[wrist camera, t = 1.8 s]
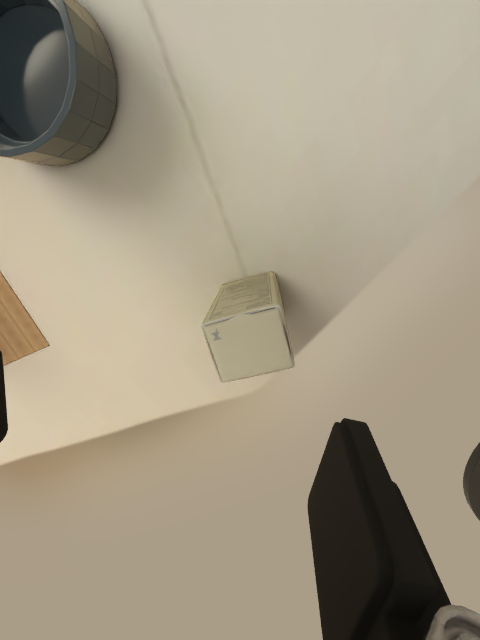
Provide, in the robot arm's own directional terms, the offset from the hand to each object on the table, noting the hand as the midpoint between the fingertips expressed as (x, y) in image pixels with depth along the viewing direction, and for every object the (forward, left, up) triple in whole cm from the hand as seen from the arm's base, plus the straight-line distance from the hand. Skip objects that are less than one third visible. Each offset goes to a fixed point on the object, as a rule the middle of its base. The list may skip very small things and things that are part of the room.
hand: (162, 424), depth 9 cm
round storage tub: (+17, -13, -22) cm, 31 cm away
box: (-2, +2, -22) cm, 22 cm away
